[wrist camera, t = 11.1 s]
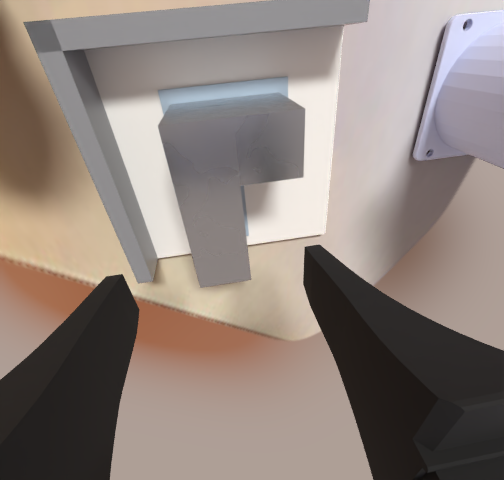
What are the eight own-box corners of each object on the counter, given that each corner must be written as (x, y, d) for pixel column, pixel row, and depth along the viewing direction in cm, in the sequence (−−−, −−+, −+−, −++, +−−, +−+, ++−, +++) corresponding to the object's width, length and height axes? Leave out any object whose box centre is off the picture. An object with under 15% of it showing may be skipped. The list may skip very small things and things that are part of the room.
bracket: (281, 227, 21) (300, 271, 17) (201, 239, 20) (200, 287, 16) (278, 92, 15) (305, 108, 11) (170, 104, 15) (157, 125, 11)
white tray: (341, 1, 14) (370, -8, 12) (322, 229, 22) (337, 253, 20) (57, 26, 13) (23, 22, 11) (145, 255, 21) (138, 283, 19)
